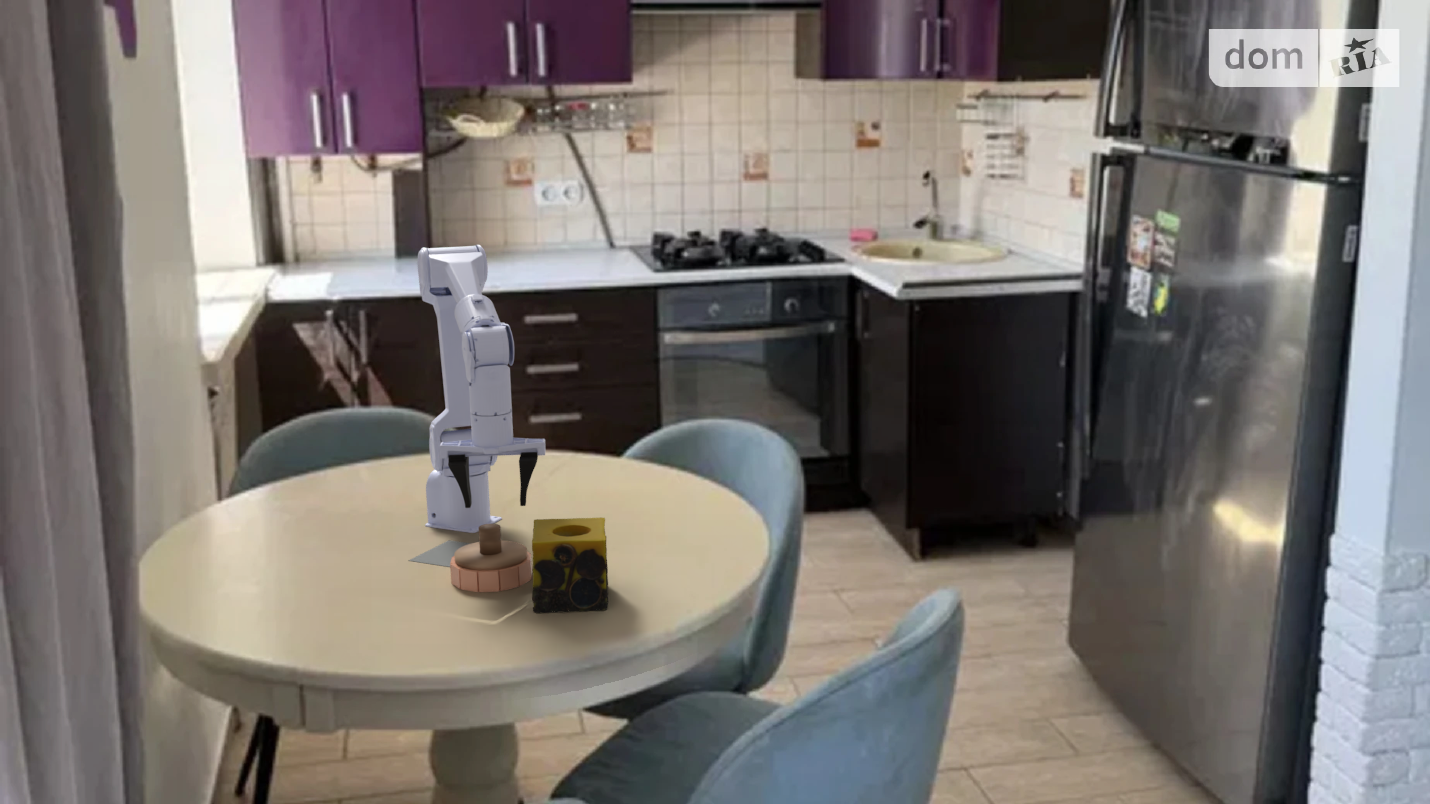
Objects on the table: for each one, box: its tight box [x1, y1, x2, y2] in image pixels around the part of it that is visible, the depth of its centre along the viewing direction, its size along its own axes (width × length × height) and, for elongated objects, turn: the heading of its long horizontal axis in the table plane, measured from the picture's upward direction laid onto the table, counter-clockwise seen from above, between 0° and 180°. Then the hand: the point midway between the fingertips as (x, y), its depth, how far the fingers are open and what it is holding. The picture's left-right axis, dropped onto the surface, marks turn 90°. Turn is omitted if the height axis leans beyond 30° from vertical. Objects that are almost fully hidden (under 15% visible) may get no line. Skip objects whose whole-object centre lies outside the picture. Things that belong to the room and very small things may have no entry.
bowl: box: [449, 550, 533, 593], centre depth 192 cm, size 11×11×3 cm
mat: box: [408, 539, 473, 568], centre depth 202 cm, size 10×10×1 cm
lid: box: [454, 523, 528, 571], centre depth 191 cm, size 10×10×5 cm
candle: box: [531, 517, 609, 614], centre depth 184 cm, size 10×10×10 cm
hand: (495, 504), depth 194 cm, fingers open, 7 cm apart
